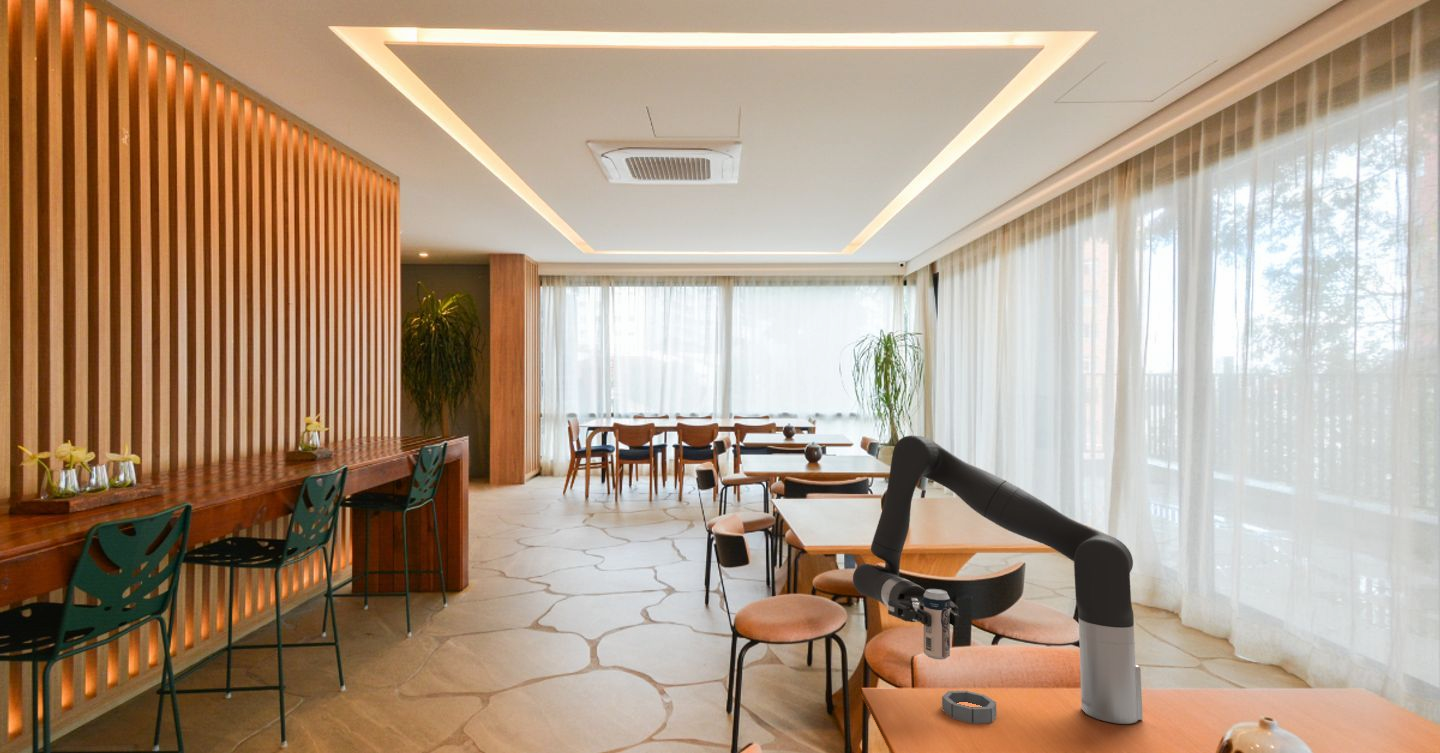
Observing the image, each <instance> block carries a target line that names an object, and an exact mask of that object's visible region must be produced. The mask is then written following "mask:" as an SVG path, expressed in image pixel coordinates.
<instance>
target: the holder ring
mask: <svg viewBox="0 0 1440 753" xmlns="http://www.w3.org/2000/svg"><path fill="white" fill-rule="evenodd" d="M941 700H942V701H941V702H942V703H941V704H942V705H941V707H942V709H943V710H944V711H945V712H946V713H947V714H948V715H949V718H951V719H953V720H958V721H961V722H964V723H969V724H974V725H977V724H978V725H979V724H992V723H993V722H994V721H995V720H996V718H997V717H996V716H998V715H997V714H998V713H997V712H998V711H997V702H996V701H995V700H993V699H992V698H990V697H989V696H988V695H985V694H981V693H977V692H974V691H969V690H948V691H946V692H945V693H944V694H943V695H942V697H941ZM959 702H968V703H972V704H976V705H980V706H982V707H969V706H965V705H961V704H957V703H959ZM942 709H941V710H942ZM943 710H942V711H943ZM944 711H943V712H944ZM945 712H944V713H945ZM946 713H945V714H946ZM947 714H946V715H947ZM948 715H947V716H948ZM995 717H996V718H995ZM994 719H995V720H994Z"/></svg>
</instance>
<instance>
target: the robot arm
mask: <svg viewBox="0 0 1440 753" xmlns="http://www.w3.org/2000/svg"><path fill="white" fill-rule="evenodd" d="M890 462H891V463H890V469H889V477H888V483H887V486H886V492H885V496H884V501H883V505H882V510H881V514H880V516H879V520H878V523H877V525H876V529H875V533H874V535H873V538H872V541H871V545H870V546H871V547H870V551H871V553H872V554H873V555H874V556H875V557H877V558H878V559H880V560H883V561H884V562H885V565H884V567H882V566H879V565H874V564H871V563H870V564H869V563H862V564H860V565H859V566H857V567H856V568H855V570H854V571H853V574H852V575H853V576H852V583H853V586H854V588H855V590H856V592H858V593H859V594H860V595H863V596H865V597H868V598H870V599H873V600H876V601H878V602H880V603H881V604H882V605H884V606H885V607H887V613H888V614H887V615H889V616H892V617H895V618H897V619H899V620H902V621H905V622H910V623H921V625H923V626H924V625H925V626H927V627H929V626H931V615H930V614H929V613H927V612H925V611H924V593H925V591H926V590H927V589H925V588H924V587H922V586H920V585H919V584H917V583H915V582H913V581H911V580H908V579H906V578H904V577H901V576H900V567H901V566H900V565H901V556H902V553H903V549H904V547H905V543H906V540H907V537H908V534H909V529H910V522H911V511H912V510H911V507H912V502H913V501H912V500H913V497H914V492H915V489H916V487H917V485H918V483H919V481H920V479H921V477H924V478H926V479H929V480H930V481H933V482H935V483H937V484H939V485H940V486H943V487H945V488H946V489H948V490H950V491H952V492H953V493H954V494H955V495H956V496H958V498H959V499H961V500H962V501H963V503H965V505H968V506H969V507H970V508H971V509H972V510H974V511H975V512H976V513H977V514H979V515H980V516H982V517H983V518H985V519H987V520H989V521H990V522H992V523H993V524H995V525H997V526H999V527H1000V528H1003V529H1004V530H1007V531H1009V532H1011V533H1013V534H1016V535H1018V536H1021V537H1023V538H1026V539H1029V540H1032V541H1033V542H1034V541H1035V542H1037V543H1040V544H1043V545H1045V546H1047V547H1049V548H1051V549H1053V550H1055V551H1057V552H1058V553H1060V554H1061V555H1063V556H1065V557H1066V558H1068V560H1069V559H1070V561H1072V562H1073V570H1074V571H1073V572H1074V589H1075V603H1076V605H1077V611H1078V614H1077V615H1078V636H1079V637H1078V638H1079V639H1078V641H1079V666H1080V672H1079V673H1080V674H1079V675H1080V698H1081V702H1080V703H1081V710H1083V711H1084V712H1085V714H1086V715H1087V716H1089V717H1091V718H1094V719H1096V720H1100V721H1103V722H1108V723H1112V724H1120V725H1130V724H1134V723H1137V722H1138V721H1142V720H1143V718H1144V716H1143V696H1142V694H1143V693H1142V674H1141V672H1142V671H1141V667H1140V666H1139V665H1138V664H1136V647H1135V646H1136V642H1135V624H1134V623H1135V622H1134V611H1133V605H1132V594H1131V592H1132V591H1131V575H1130V574H1131V573H1132V570H1133V568H1134V559H1133V556H1132V553H1131V551H1130V550H1129V548H1128V546H1127V545H1126V544H1124V543H1123V542H1122V541H1121V540H1120V539H1117V538H1116V537H1114V536H1111V535H1109V534H1106V533H1104V532H1101V531H1099V530H1096V529H1095V528H1092V527H1089V526H1087V525H1085V524H1082V523H1081V522H1078V521H1077V520H1074V519H1072V518H1070V517H1068V516H1067V515H1064V514H1063V513H1061V512H1060V511H1058V510H1057V509H1055V508H1054V507H1052V506H1051V505H1049V504H1047V503H1046V502H1044V501H1043V500H1041V499H1039V498H1037V497H1036V496H1034V495H1032V493H1029V492H1027V491H1026V490H1024V489H1022V488H1020V487H1019V486H1017V485H1015V484H1013V483H1011V482H1009V481H1007V480H1005V479H1003V478H1001V477H999V476H997V475H996V474H995V475H994V474H993V473H991V472H988V471H986V470H985V469H981V468H980V467H977V466H975V465H972V464H970V463H968V462H966V461H964V460H962V459H960V458H959V457H957V456H956V455H954V454H953V453H951V452H949V450H947V449H945V448H944V447H942V446H941V445H940V444H938V443H937V442H935V441H934V440H932V439H930V438H928V437H926V436H921V435H920V436H919V435H906V436H904V437H902V438H900V439H899V440H897V442H896V443H895V445H894V446H893V451H892V457H891V461H890ZM960 617H961V616H960V615H959V607H958V606H957V605H956V603H955V602H953V601H952V600H950V626H953V627H959V625H960V621H961V620H960ZM1083 711H1082V712H1083ZM1084 712H1083V713H1084Z"/></svg>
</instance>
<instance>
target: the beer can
mask: <svg viewBox="0 0 1440 753" xmlns="http://www.w3.org/2000/svg"><path fill="white" fill-rule="evenodd" d="M925 590H926V591H925V593H924V611H925V612H927V613H929V614H930V615H931V626H929V627H927V626H925V625H924V624H923V654H924V655H925V656H926V657H928V658H930V659H934V660H946V659H947V658H949V657H950V656H951V636H950V635H951V634H950V633H951V631H950V630H951V624H950V601H951V598H950V596H949V594H948V592H947V591H946V590H944V589H939V588H938V589H937V588H928V589H925Z"/></svg>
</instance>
